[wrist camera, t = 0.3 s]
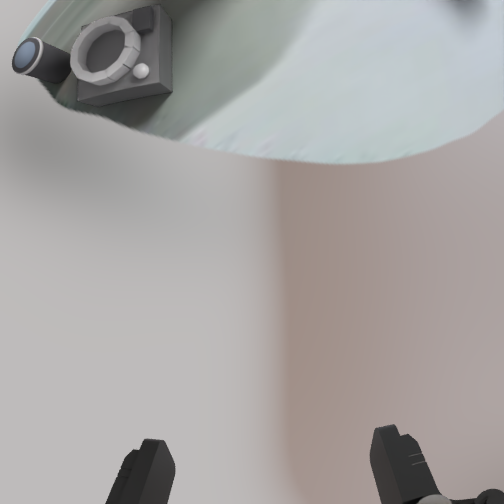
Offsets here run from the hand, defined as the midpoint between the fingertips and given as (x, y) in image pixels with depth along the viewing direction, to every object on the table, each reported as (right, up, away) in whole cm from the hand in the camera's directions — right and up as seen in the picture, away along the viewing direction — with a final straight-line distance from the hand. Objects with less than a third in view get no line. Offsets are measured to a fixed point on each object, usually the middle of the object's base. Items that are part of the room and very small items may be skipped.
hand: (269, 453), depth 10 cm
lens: (-27, +32, +22) cm, 47 cm away
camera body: (-15, +31, +22) cm, 41 cm away
